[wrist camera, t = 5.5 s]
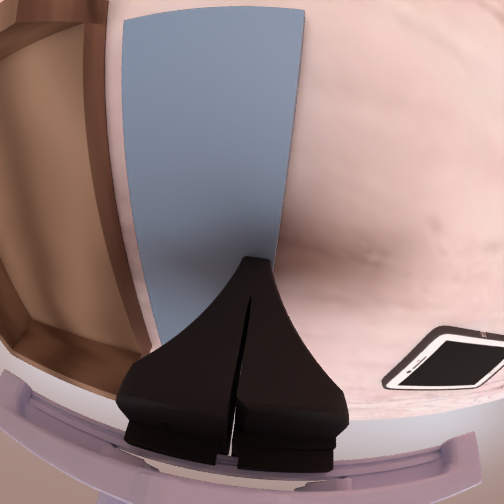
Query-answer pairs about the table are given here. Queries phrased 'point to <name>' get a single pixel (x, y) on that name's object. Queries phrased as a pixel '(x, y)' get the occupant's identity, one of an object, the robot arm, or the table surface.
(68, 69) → the brown drawer
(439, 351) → the cell phone
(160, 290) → the panel
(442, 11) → the table surface
